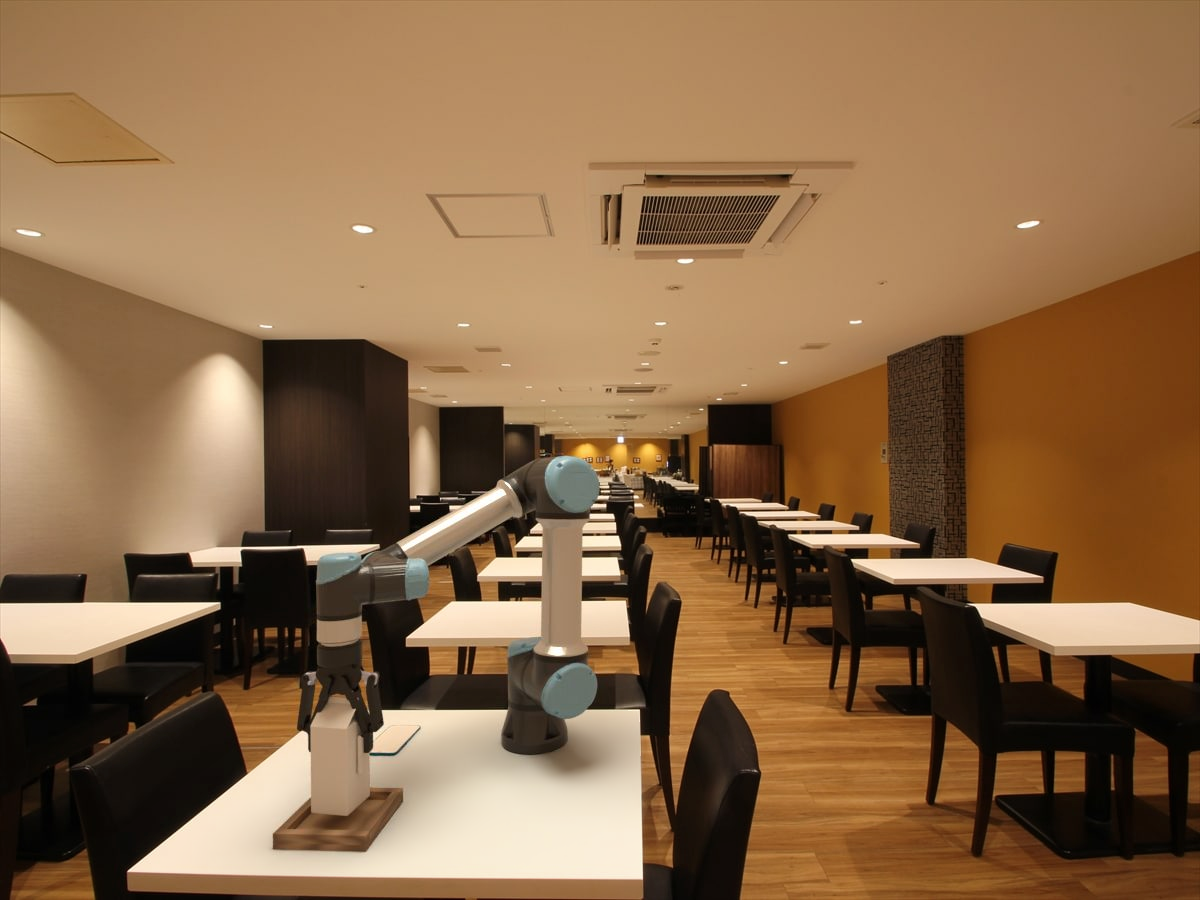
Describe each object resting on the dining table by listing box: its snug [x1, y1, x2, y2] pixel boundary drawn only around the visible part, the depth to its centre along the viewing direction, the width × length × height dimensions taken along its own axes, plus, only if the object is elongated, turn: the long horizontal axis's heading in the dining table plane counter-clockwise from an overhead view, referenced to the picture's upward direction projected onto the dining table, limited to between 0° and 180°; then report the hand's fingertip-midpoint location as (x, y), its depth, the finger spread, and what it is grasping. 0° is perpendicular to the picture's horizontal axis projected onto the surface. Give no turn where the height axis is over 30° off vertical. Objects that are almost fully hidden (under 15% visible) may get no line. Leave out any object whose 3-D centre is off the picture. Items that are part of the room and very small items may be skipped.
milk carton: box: [310, 695, 371, 816], centre depth 116 cm, size 7×7×19 cm
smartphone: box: [370, 724, 421, 757], centre depth 151 cm, size 8×1×16 cm
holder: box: [272, 786, 404, 852], centre depth 116 cm, size 16×16×2 cm
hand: (340, 769), depth 116 cm, fingers closed on milk carton, 7 cm apart
